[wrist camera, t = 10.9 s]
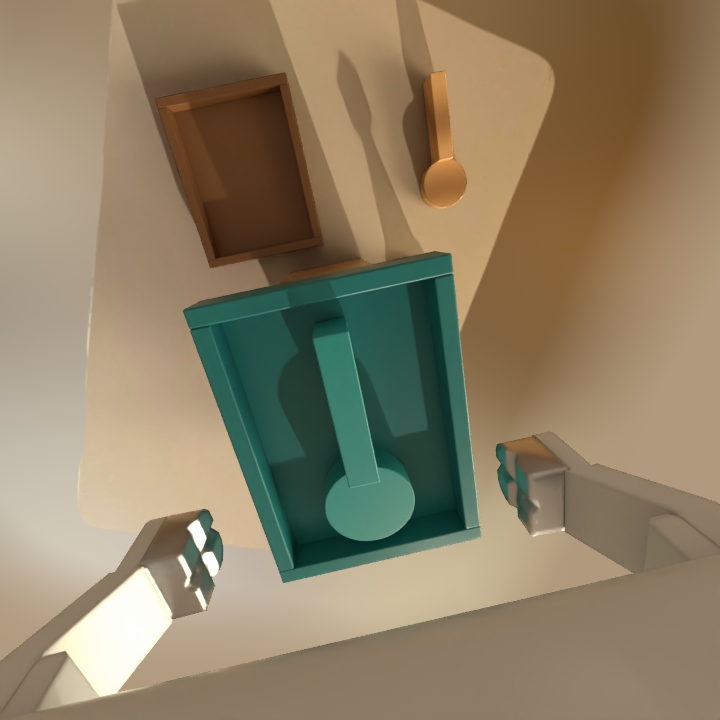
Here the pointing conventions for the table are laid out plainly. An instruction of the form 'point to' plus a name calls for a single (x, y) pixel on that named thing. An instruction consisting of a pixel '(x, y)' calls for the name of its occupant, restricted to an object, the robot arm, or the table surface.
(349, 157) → the table surface
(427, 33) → the table surface
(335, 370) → the teal spoon
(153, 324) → the table surface
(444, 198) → the beech spoon
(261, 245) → the walnut tray
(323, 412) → the teal tray
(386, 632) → the robot arm
